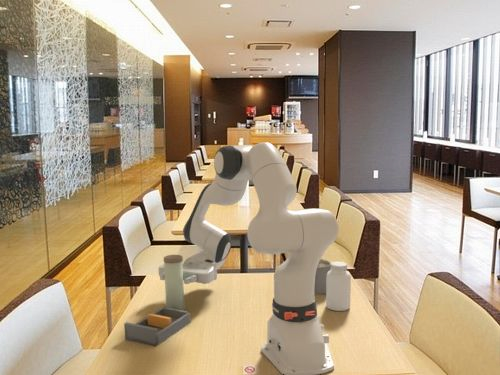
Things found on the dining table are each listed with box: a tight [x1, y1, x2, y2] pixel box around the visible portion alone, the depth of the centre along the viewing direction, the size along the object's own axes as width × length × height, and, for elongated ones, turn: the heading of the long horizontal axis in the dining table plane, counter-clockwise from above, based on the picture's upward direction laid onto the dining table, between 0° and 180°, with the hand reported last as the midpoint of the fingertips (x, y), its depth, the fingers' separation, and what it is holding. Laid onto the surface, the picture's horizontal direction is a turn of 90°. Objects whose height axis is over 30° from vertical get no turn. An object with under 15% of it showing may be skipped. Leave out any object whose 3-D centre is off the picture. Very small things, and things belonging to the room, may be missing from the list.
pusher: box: [146, 313, 171, 328], centre depth 157 cm, size 1×8×3 cm, turn 64°
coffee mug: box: [314, 258, 332, 295], centre depth 188 cm, size 13×10×10 cm
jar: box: [163, 254, 185, 311], centre depth 172 cm, size 6×6×18 cm
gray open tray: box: [123, 306, 191, 347], centre depth 156 cm, size 18×11×5 cm, turn 154°
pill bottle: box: [325, 261, 352, 312], centre depth 171 cm, size 8×8×15 cm
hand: (173, 279), depth 171 cm, fingers open, 8 cm apart
